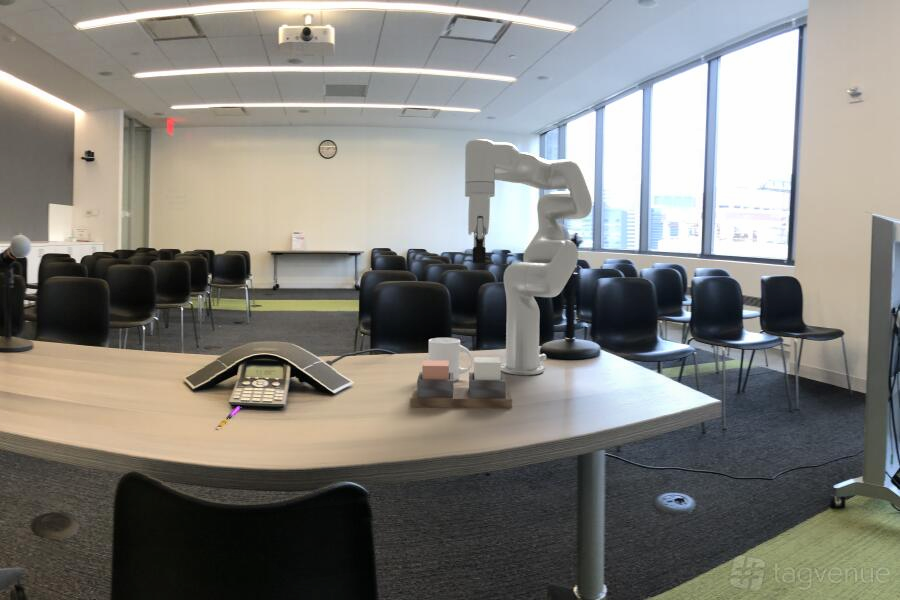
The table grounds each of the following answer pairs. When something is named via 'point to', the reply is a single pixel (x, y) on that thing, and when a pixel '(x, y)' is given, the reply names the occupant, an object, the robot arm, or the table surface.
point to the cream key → (487, 368)
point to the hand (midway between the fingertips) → (479, 262)
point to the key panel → (461, 393)
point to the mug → (449, 354)
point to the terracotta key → (435, 370)
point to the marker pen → (230, 416)
